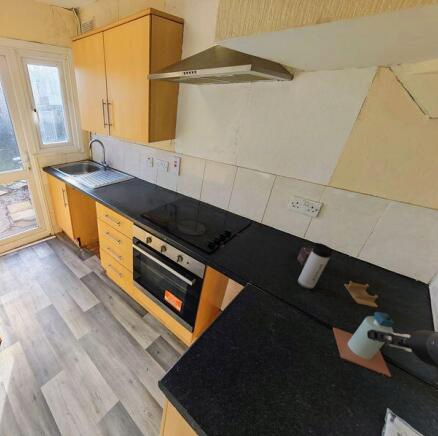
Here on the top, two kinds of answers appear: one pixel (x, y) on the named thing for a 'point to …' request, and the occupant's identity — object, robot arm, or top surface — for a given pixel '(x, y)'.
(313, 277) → the travel mug
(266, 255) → the top surface
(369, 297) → the drying stand
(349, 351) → the plate
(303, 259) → the box
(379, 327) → the pale blue bottle
